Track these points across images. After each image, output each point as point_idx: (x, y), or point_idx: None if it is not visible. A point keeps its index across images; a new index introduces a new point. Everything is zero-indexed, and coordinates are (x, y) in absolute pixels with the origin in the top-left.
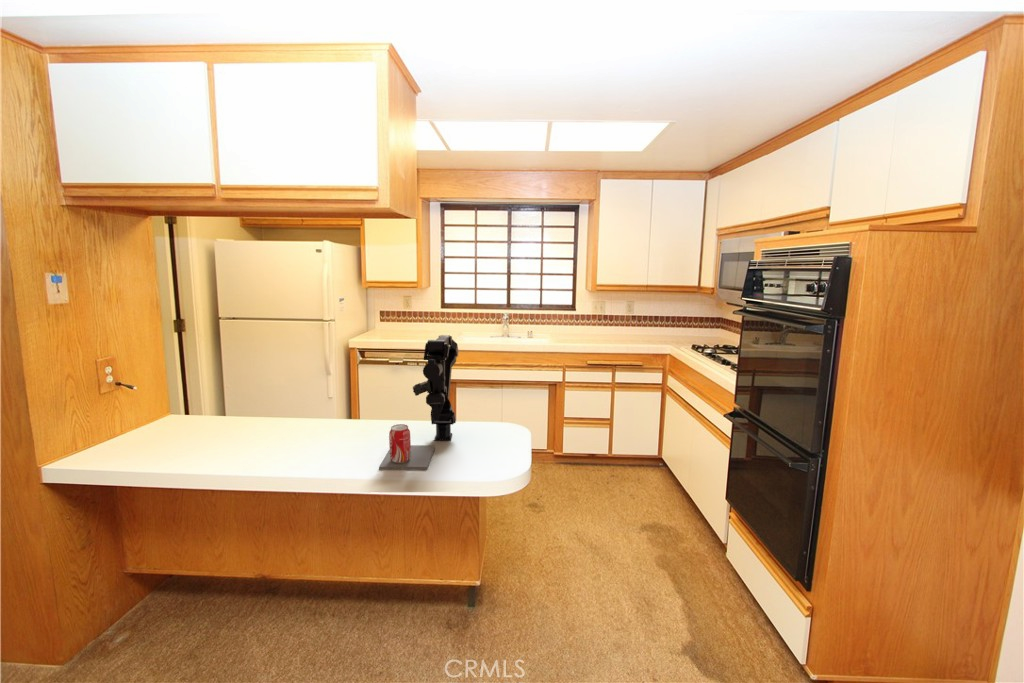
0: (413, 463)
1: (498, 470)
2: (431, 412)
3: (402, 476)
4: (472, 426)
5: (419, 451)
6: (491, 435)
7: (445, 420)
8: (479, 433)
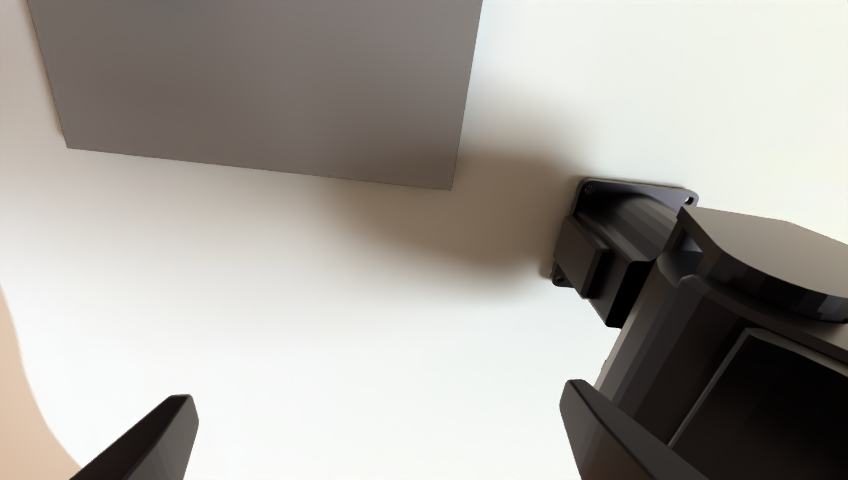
0: (100, 34)
1: None
2: (758, 282)
3: None
4: None
5: (340, 74)
6: (561, 455)
7: (608, 357)
8: None
